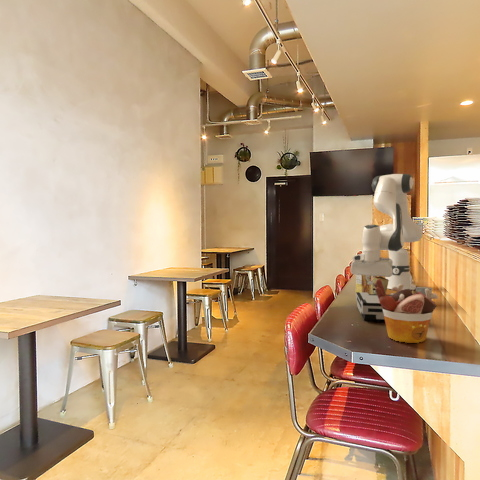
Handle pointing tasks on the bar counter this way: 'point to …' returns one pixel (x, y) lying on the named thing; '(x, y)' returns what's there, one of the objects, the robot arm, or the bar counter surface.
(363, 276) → the candy box
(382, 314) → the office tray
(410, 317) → the bucket of meat
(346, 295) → the bar counter surface
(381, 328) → the bar counter surface
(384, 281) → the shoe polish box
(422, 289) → the grey small irregular piece
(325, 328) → the bar counter surface
